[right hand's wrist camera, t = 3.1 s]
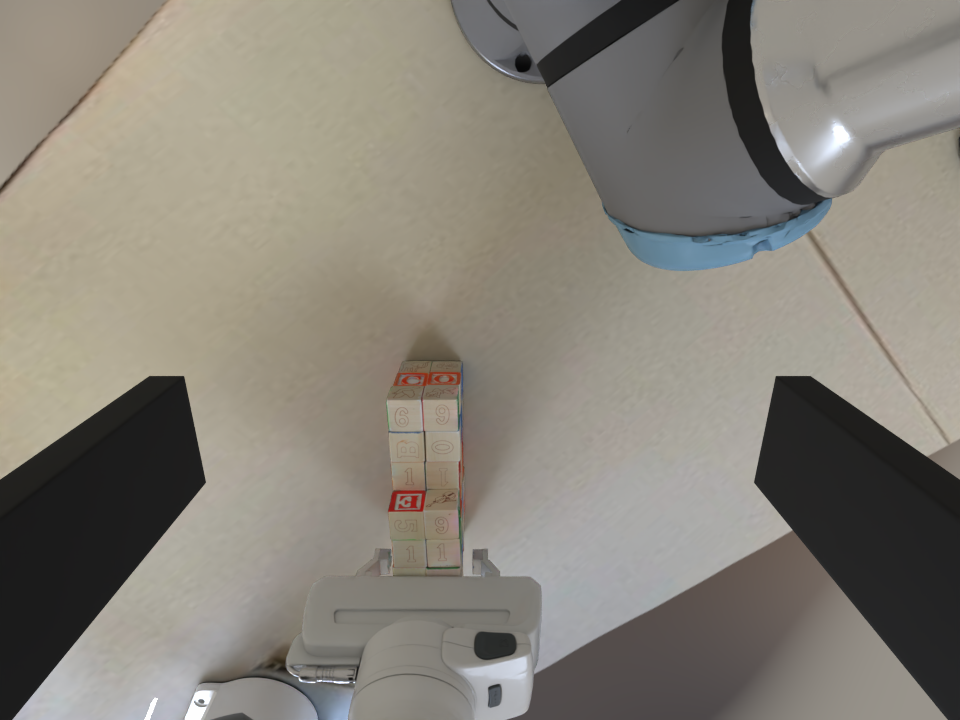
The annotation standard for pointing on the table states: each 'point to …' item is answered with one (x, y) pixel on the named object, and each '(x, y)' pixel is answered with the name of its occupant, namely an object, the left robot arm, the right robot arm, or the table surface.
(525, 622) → the left robot arm
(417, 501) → the stack of blocks
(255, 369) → the table surface
